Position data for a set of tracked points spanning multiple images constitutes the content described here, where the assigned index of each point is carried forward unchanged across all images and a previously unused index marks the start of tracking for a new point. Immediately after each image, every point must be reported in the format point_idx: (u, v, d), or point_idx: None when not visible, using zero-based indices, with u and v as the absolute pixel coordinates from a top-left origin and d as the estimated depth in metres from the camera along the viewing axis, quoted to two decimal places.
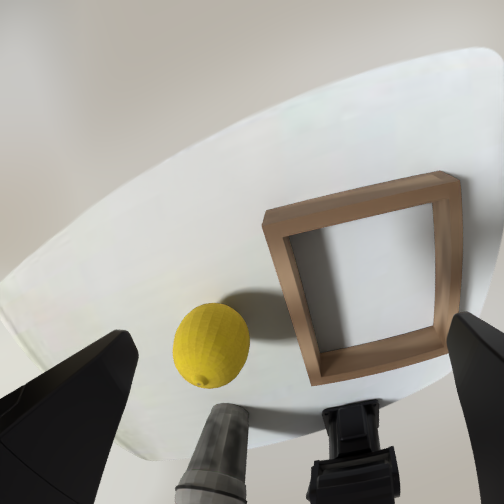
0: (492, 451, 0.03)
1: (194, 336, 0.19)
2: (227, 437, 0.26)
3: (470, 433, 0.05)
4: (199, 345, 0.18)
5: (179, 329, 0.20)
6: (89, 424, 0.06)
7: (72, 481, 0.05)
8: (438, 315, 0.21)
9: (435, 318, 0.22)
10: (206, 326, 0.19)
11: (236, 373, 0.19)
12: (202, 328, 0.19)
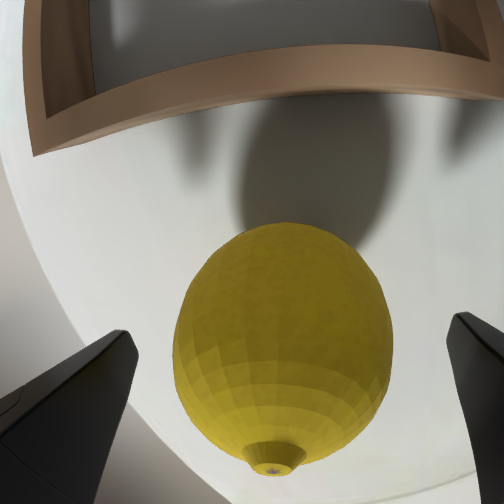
0: (492, 451, 0.03)
1: None
2: None
3: (470, 433, 0.05)
4: (177, 387, 0.06)
5: None
6: (89, 424, 0.06)
7: (72, 481, 0.05)
8: None
9: None
10: None
11: (334, 328, 0.05)
12: None
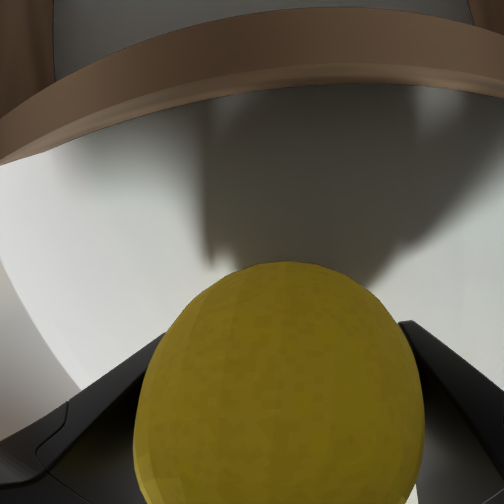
0: (429, 473, 0.04)
1: None
2: None
3: None
4: (141, 488, 0.03)
5: None
6: None
7: (125, 503, 0.04)
8: None
9: None
10: None
11: (355, 463, 0.02)
12: None
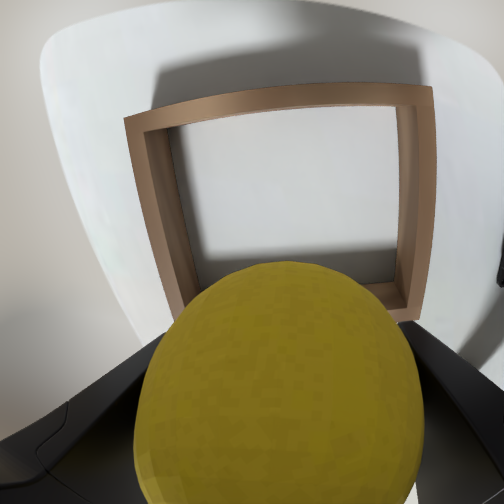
0: (429, 473, 0.04)
1: None
2: None
3: None
4: (141, 486, 0.03)
5: None
6: None
7: (125, 503, 0.04)
8: (365, 105, 0.13)
9: (377, 105, 0.13)
10: None
11: (354, 461, 0.02)
12: None
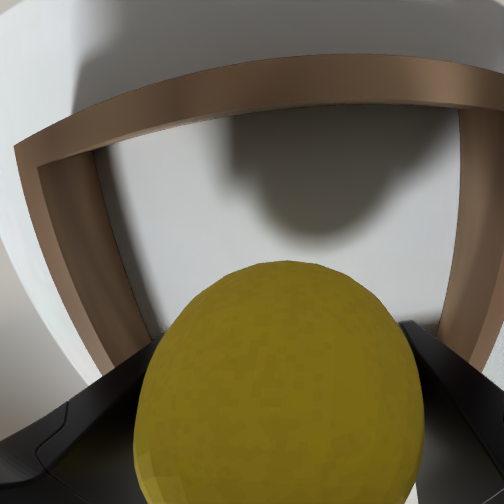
0: (428, 473, 0.04)
1: None
2: None
3: None
4: (141, 486, 0.03)
5: None
6: None
7: (125, 503, 0.04)
8: (419, 103, 0.07)
9: (434, 105, 0.07)
10: None
11: (354, 461, 0.02)
12: None
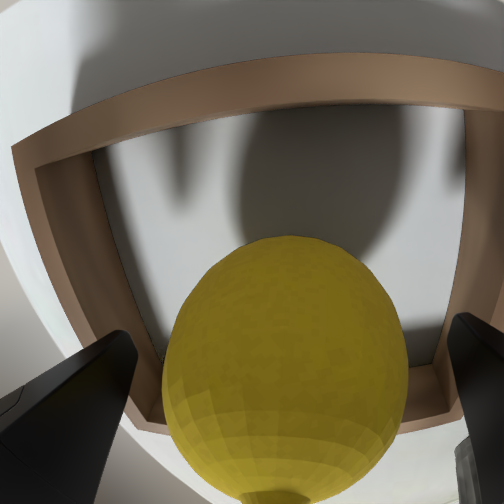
0: (492, 451, 0.03)
1: None
2: (475, 487, 0.10)
3: (470, 433, 0.05)
4: (167, 424, 0.05)
5: None
6: (89, 424, 0.06)
7: (72, 481, 0.05)
8: (425, 104, 0.06)
9: (440, 106, 0.07)
10: (165, 363, 0.06)
11: (346, 370, 0.04)
12: None
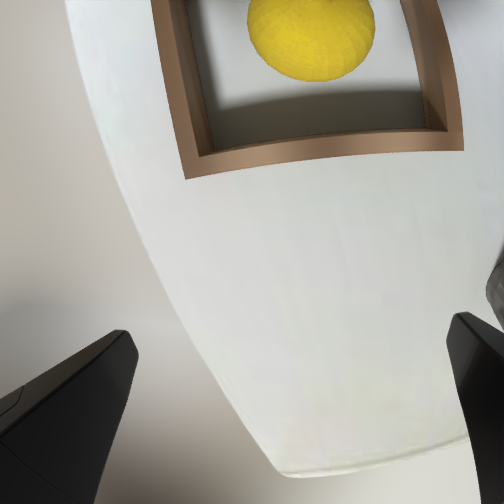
0: (492, 451, 0.03)
1: (250, 16, 0.09)
2: None
3: (470, 433, 0.05)
4: (255, 3, 0.08)
5: (264, 56, 0.10)
6: (89, 424, 0.06)
7: (72, 481, 0.05)
8: None
9: None
10: (248, 10, 0.09)
11: None
12: (248, 13, 0.09)
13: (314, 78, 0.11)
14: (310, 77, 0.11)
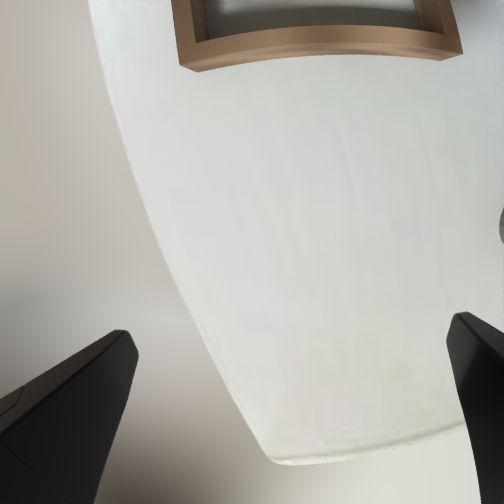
0: (492, 451, 0.03)
1: None
2: None
3: (470, 433, 0.05)
4: None
5: None
6: (89, 424, 0.06)
7: (72, 481, 0.05)
8: None
9: None
10: None
11: None
12: None
13: None
14: None
